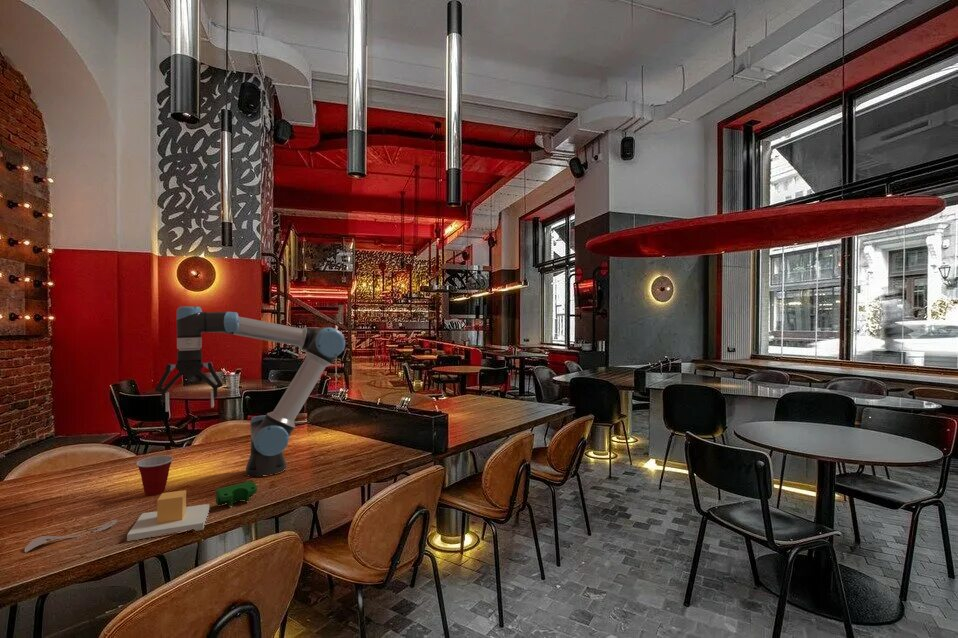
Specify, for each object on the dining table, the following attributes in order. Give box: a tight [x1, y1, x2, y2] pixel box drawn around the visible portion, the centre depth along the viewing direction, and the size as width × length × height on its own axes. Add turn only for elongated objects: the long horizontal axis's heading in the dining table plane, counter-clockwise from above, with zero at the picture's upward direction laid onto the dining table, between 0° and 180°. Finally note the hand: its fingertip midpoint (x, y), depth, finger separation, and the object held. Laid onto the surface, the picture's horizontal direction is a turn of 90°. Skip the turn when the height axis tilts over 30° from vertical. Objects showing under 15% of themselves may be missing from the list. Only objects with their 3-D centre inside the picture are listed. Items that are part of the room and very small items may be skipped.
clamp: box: [215, 480, 258, 507], centre depth 152 cm, size 12×6×9 cm, turn 131°
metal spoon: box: [23, 519, 118, 553], centre depth 127 cm, size 20×4×5 cm
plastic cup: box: [136, 454, 174, 497], centre depth 162 cm, size 11×11×12 cm
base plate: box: [126, 503, 211, 542], centre depth 136 cm, size 18×16×8 cm
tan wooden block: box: [156, 489, 187, 524], centre depth 136 cm, size 6×6×7 cm
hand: (190, 409), depth 162 cm, fingers open, 13 cm apart
